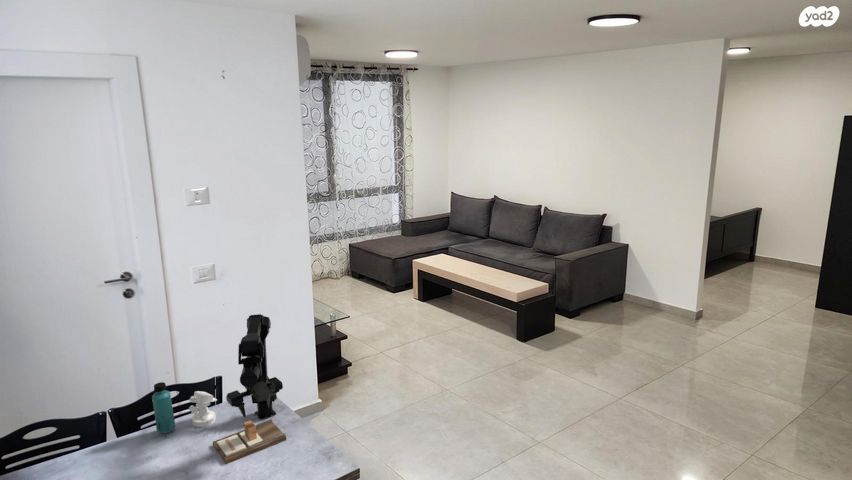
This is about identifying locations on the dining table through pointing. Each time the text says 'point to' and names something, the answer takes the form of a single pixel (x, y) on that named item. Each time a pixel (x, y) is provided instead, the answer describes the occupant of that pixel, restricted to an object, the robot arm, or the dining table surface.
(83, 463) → the dining table surface
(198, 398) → the character figurine
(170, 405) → the beverage bottle
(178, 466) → the dining table surface
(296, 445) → the dining table surface
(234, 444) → the ticket board
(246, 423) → the stub
